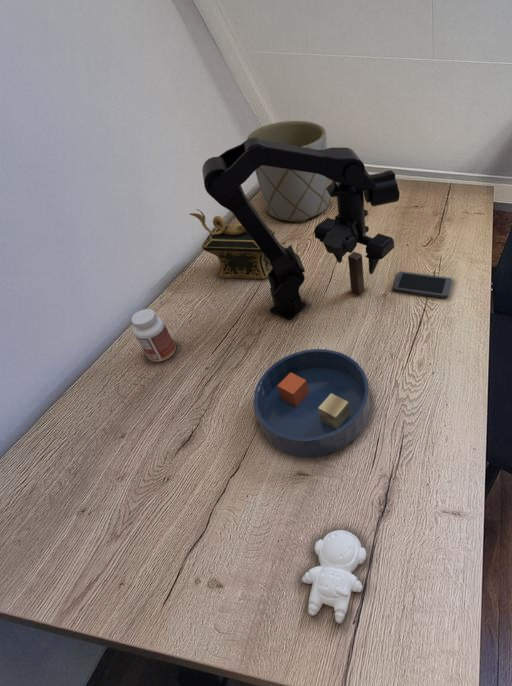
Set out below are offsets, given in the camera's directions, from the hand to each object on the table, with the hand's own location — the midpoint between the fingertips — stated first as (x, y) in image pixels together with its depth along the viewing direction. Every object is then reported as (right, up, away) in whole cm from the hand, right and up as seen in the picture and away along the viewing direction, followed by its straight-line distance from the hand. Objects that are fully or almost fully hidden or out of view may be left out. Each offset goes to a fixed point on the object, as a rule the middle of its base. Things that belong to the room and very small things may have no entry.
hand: (355, 267), depth 109 cm
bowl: (-7, -30, -21) cm, 37 cm away
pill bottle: (-43, -20, -7) cm, 48 cm away
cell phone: (+17, -4, +5) cm, 18 cm away
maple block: (-3, -31, -23) cm, 39 cm away
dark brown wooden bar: (0, -5, +5) cm, 7 cm away
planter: (-20, +24, +38) cm, 49 cm away
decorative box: (-31, +1, +15) cm, 35 cm away
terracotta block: (-12, -28, -19) cm, 36 cm away
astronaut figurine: (-2, -50, -43) cm, 66 cm away
